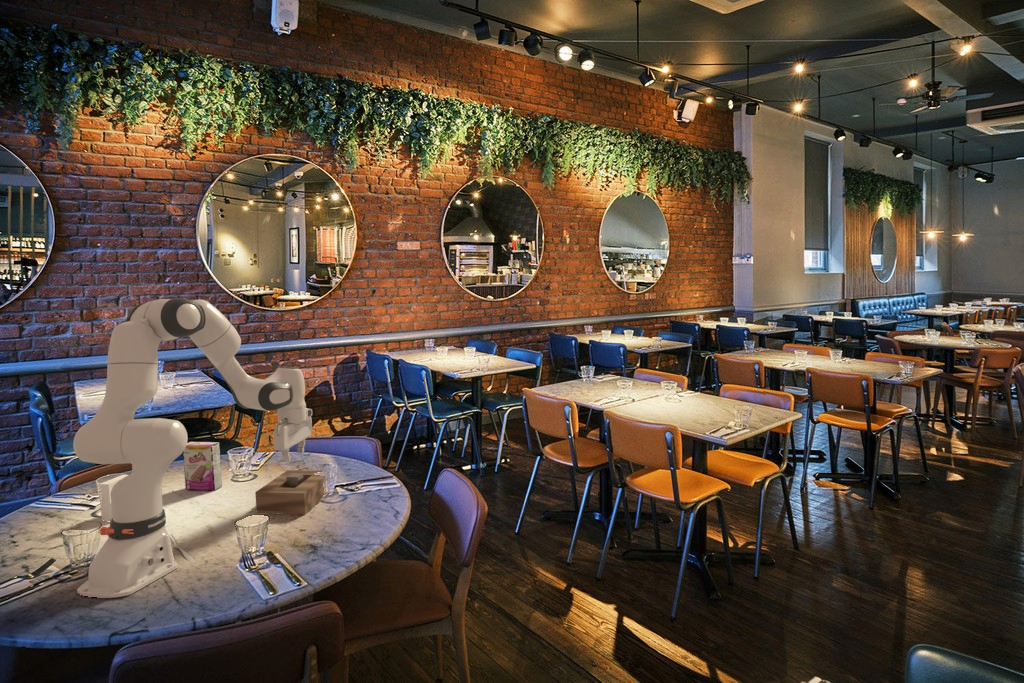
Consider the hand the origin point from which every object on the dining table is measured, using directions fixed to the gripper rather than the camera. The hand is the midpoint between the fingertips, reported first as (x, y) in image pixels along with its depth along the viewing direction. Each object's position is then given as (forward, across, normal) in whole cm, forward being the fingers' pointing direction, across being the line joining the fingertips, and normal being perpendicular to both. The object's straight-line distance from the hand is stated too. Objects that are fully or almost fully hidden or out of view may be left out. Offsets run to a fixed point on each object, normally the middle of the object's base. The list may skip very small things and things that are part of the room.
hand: (294, 456), depth 204 cm
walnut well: (+15, 0, 0) cm, 15 cm away
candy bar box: (+15, +10, +39) cm, 43 cm away
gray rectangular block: (+14, 0, 0) cm, 14 cm away
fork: (+16, -38, +14) cm, 44 cm away
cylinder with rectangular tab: (+16, -16, +51) cm, 56 cm away
